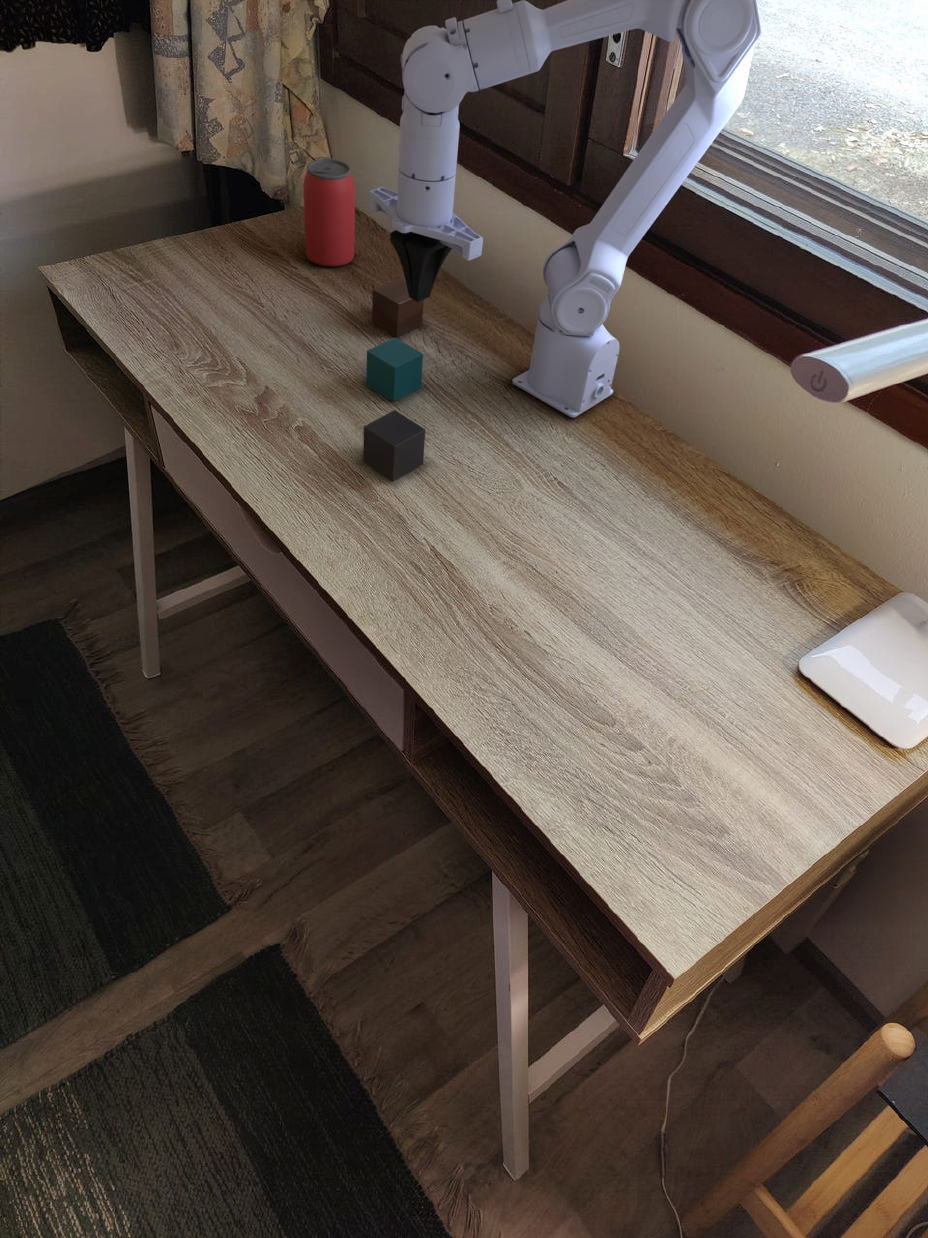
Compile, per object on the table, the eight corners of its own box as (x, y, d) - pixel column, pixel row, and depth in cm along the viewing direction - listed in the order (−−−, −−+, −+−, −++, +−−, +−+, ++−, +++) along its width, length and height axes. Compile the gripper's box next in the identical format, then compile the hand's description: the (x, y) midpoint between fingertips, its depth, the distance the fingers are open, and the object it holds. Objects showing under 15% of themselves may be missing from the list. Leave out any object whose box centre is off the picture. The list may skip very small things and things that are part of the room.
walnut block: (422, 325, 120) (424, 292, 117) (396, 337, 118) (398, 303, 114) (397, 311, 122) (398, 277, 119) (371, 322, 120) (372, 289, 116)
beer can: (296, 252, 130) (293, 161, 121) (338, 242, 133) (337, 153, 124) (321, 273, 127) (319, 181, 118) (363, 262, 130) (365, 172, 121)
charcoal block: (423, 464, 101) (425, 429, 98) (392, 482, 99) (394, 446, 95) (393, 444, 103) (394, 409, 100) (362, 461, 100) (363, 426, 97)
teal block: (421, 387, 111) (423, 353, 107) (393, 402, 108) (395, 367, 105) (393, 371, 113) (395, 336, 109) (366, 384, 110) (366, 350, 107)
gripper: (347, 153, 95) (347, 281, 105) (453, 206, 89) (442, 336, 99) (397, 138, 99) (392, 262, 109) (502, 187, 93) (487, 314, 103)
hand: (419, 296), depth 104 cm, fingers closed
